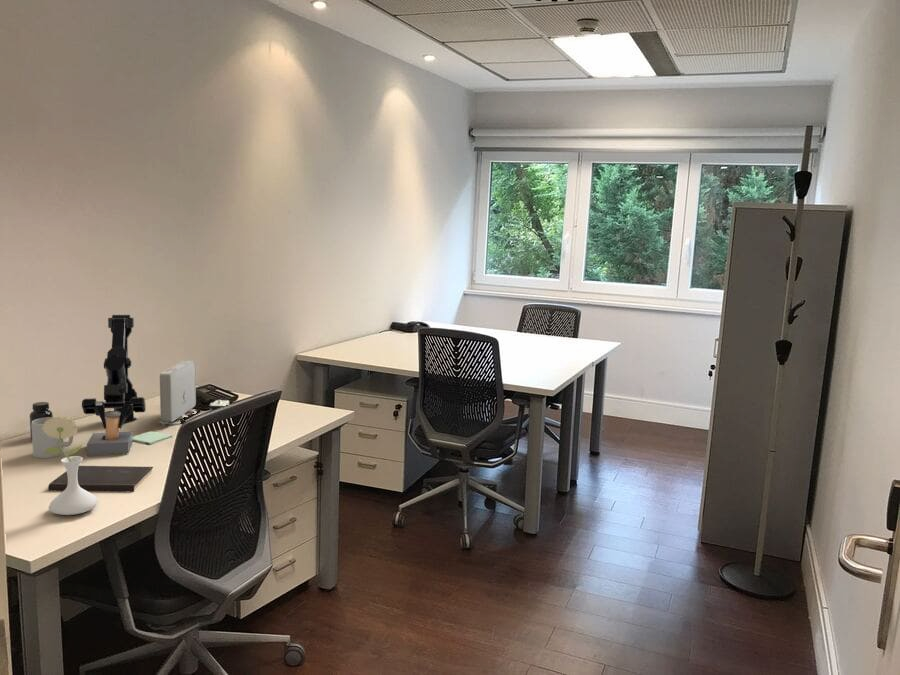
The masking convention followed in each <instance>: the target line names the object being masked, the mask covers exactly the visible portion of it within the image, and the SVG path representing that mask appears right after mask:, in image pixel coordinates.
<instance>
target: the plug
mask: <svg viewBox="0 0 900 675" xmlns="http://www.w3.org/2000/svg"><path fill="white" fill-rule="evenodd" d="M105 416H106V428H105V432H104V433H105V440H114V439H118V437H119V432H120V428H119V419H120V416H121V412H119V411H114V410H109V411H108V410H107V411H105Z"/></svg>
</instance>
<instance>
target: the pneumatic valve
mask: <svg viewBox="0 0 900 675" xmlns="http://www.w3.org/2000/svg"><path fill="white" fill-rule="evenodd" d="M226 405H229V406H230V399H215V401H213V402H210V403H209V410H208V411H211V410H214V409H217V408H220V407H223V406H226Z"/></svg>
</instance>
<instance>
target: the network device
mask: <svg viewBox="0 0 900 675" xmlns="http://www.w3.org/2000/svg"><path fill="white" fill-rule="evenodd" d="M196 376H197V375H196V361H195V360H183V361H181V362H179V363H177V364H175V365H174V366H171V367H169V368H167V369H165V370H164V371H162V372H160V374H159V400H160V401H159V403H160V404H159V405H160V408H159V409H160V420H159V424H160V423H161V424H160V425H164V424H169V425H168V426H170V425H171V426H180V425H181V424H180V423H181V421H178V422H177V421H176V420H184V419H183V418H184V417H188V415H186V414H187V413H191V414H196V413H197V411H196V410H194V409H193V408H194V407H195V406H196V405H197V404H196V403H197V391H196V390H197V385H196V383H197V382H196V379H197V378H196ZM191 409H193V410H191ZM192 412H194V413H192ZM197 414H198V413H197ZM197 414H196V415H197ZM174 421H176V422H174Z"/></svg>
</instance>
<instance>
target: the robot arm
mask: <svg viewBox="0 0 900 675" xmlns="http://www.w3.org/2000/svg"><path fill="white" fill-rule="evenodd" d="M107 322H108V325H107V326H108V329H110V332H111V334H112V338H111V348H110V349H109V350H108V351H107V352H106V353H107V355H106V358H104V361H103V369H104V370H105V373H106V377H107V382H106V384H105V385H103V400H104V401H102V400H97V398H96V397H95V398H84V399H82V401H81V409H82V411H83V414H85V415H95V416H98V417H99V418H100V420H101V422H102V427H103V429H104V430H106V416H105V412H106V409H113V411H119V412H121V416H120V419H119V429H121V428H122V427H123V425H124V424H125V423H128V422H132V421H135V419H136V420H137V417H135V416H134V412H135V413H145V412H146V408H147V406H146V399H145V398H144V397H143V396H142V397H141V396H138V392H137V391H136V389H135V388H134V385H133V383H132V381H131V380H130V378H129V369H130V367H131V366H132V363H133V362H132V360H131V359H130V357H129V344H128V342H129V337H130V336H131V335H132V333H133V328H134V327H135V319H134V317H131V314H112V316H111V317H108V318H107Z"/></svg>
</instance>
